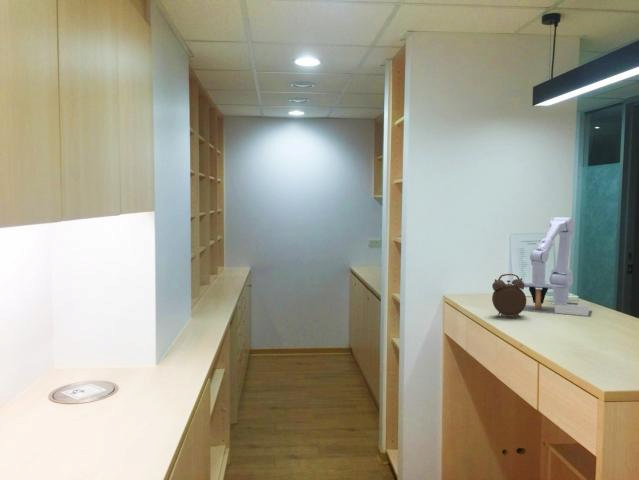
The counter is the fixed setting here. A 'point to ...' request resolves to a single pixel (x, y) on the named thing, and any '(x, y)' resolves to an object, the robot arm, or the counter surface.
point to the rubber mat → (547, 310)
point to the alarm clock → (509, 296)
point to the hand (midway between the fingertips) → (538, 302)
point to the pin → (538, 299)
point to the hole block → (572, 307)
